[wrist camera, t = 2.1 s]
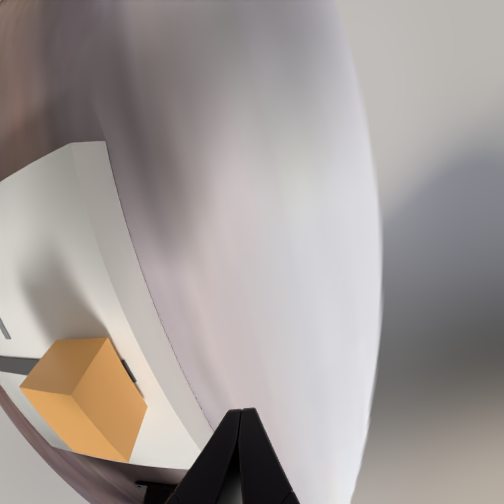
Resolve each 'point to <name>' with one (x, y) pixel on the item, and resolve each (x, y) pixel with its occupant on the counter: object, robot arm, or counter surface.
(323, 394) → the counter surface
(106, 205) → the fader console
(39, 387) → the fader knob
